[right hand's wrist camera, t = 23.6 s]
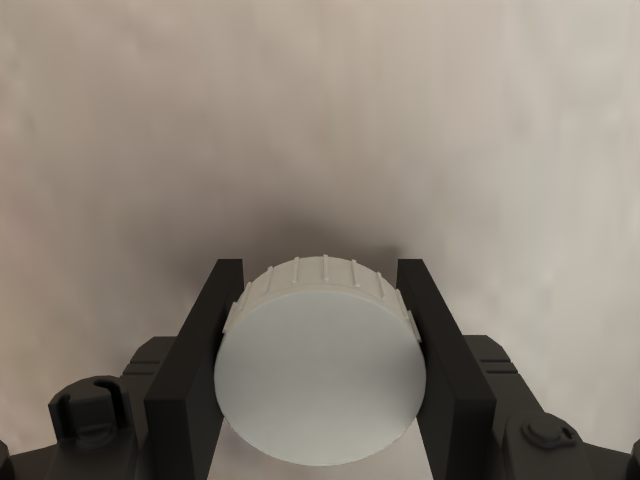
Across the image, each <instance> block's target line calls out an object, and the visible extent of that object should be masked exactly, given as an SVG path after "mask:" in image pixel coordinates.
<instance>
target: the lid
mask: <svg viewBox="0 0 640 480" xmlns="http://www.w3.org/2000/svg"><path fill="white" fill-rule="evenodd" d="M222 333H224V336H223V339H222V342H221V345H220V347H219V350H218V353H217V357H216V361H215V365H214V383H215V393H216V398H217V402H218V404H219V406H220V409H221V411H222V413H223V415H224V417H225V418H226V420H227V422H228V423H229V424H230V425H231V427H232V428H233V429H234V430H235V432H236V433H237V434H239V435H240V436H241V437H242V438H243V439H244V440H245V441H246V442H248V443H249V444H250V445H252V446H253V447H255V448H256V449H258V450H260V451H261V452H263V453H265V454H267V455H270V456H272V457H274V458H277V459H280V460H283V461H286V462H290V463H295V464H299V465H308V466H332V465H340V464H346V463H351V462H354V461H357V460H361V459H364V458H366V457H368V456H371V455H373V454H375V453H377V452H379V451H381V450H382V449H384V448H386V447H387V446H389V445H390V444H391V443H393V442H394V441H395V440H396V439H397V438H399V437H400V436H401V435H402V434H403V433H404V432H405V431H406V429H407V428H408V427H409V426H410V425H411V423H412V422H413V420H414V419H415V417H416V415H417V414H418V412H419V409H420V407H421V405H422V402H423V399H424V395H425V387H426V365H425V360H424V356H423V353H422V351H421V348H420V345H419V343H420V342H422V340H421V337H420V335H419V332H418V329H417V326H416V324H415V321H414V318H413V316H412V313H411V310H409V311H407V309H406V306H405V304H404V302H403V299H402V296H401V294H400V291H399V290H398V289H396V290H395V289H394V288H393V287H392V286H391V285H390V284H389V283H388V282H387V281H386V280H385V279H384V278H382V276H381V273H380V272H378V271H377V272H374V271H372V270H370V269H369V268H367V267H365V266H363V265H360V264H358V263H356V260H353V259H352V261H349V260H345V259H341V258H334V257H328V255H323V257H306V258H300V259H299V257H295V259H294V260H291V261H288V262H285V263H282V264H280V265H277V266H275V267H274V268H273V267H272V266H270V267H269V268H268V271H266V272H265V273H263V274H262V275H260V276H259V277H258V278H256V279H255V280H254V281H253V282H252V283H251V282H248V283H247V285H246V288H245V291H244V292H243V293H242V295H241V296H240V298H239V300H238V301H237V303H236V302H233V304H232V307H231V309H230V312H229V315H228V317H227V320H226V323H225V326H224V328H223V331H222Z"/></svg>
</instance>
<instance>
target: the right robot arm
mask: <svg viewBox="0 0 640 480" xmlns="http://www.w3.org/2000/svg"><path fill="white" fill-rule="evenodd" d="M396 289H398V290H399V291H400V294H401V296H402V299H403V302H404V304H405V306H406V309H407V311H409V310H411V313H412V316H413V318H414V321H415V324H416V326H417V329H418V332H419V335H420V337H421V340H422V342H420V343H419V345H420V348H421V351H422V353H423V356H424V360H425V365H426V387H425V395H424V399H423V402H422V405H421V407H420V409H419V412H418V414H417V415H416V418H417V421H418V425H419V429H420V432H421V436H422V440H423V443H424V447H425V450H426V454H427V458H428V461H429V465H430V469H431V472H432V476H433V480H640V439H639V440H638V441H637V442H636V443H635V444H634V445H633V449H632V452H631V454H628V453H623V452H619V451H615V450H611V449H606V448H602V447H598V446H594V445H591V444H588V443H585V442H583V441H582V439H581V438H580V436H579V435H578V433H577V431H576V430H575V429H573V428H572V427H571V426H570V425H569V424H568V423H566V422H565V421H563V420H562V419H560V418H558V417H556V416H554V415H552V414H549V413H545V412H544V410H543V409H542V407H541V406H540V404H539V403H538V401H537V400H536V398H535V397H534V395H533V394H532V392H531V390H530V389H529V387H528V386H527V384H526V383H525V381H524V380H523V378H522V377H521V375H520V374H518V371H517V369H516V367H515V366H514V364H513V363H511V360H510V358H509V357H508V355H507V354H506V352H505V351H504V349H503V348H502V346H500V345H499V344H498V343H496V342H495V341H494V340H492V339H491V338H490V337H488V336H487V335H462V333H461V331H460V330H459V328H458V326H457V324H456V322H455V320H454V318H453V316H452V315H451V313H450V311H449V309H448V307H447V305H446V303H445V301H444V300H443V298H442V296H441V294H440V292H439V290H438V288H437V286H436V284H435V283H434V281H433V279H432V277H431V275H430V273H429V271H428V269H427V268H426V266H425V264H424V262H423V260H422V259H398V268H397V283H396ZM243 292H244V279H243V264H242V259H218V261H217V263H216V264H215V266H214V268H213V270H212V272H211V274H210V276H209V278H208V279H207V281H206V283H205V285H204V287H203V289H202V291H201V293H200V294H199V296H198V298H197V300H196V302H195V304H194V306H193V308H192V309H191V311H190V313H189V315H188V317H187V319H186V321H185V323H184V324H183V326H182V328H181V330H180V332H179V334H178V336H177V337H153V338H151V339H150V340H149V341H147V342H146V343H145V344H143V345H142V346H141V347H139V348H138V350H137V351H136V353H135V354H134V356H133V358H132V359H131V361H130V364H128V365H127V367H126V368H125V370H124V371H123V375H121V376H120V378H117V377H114V376H94V377H90V378H86V379H82V380H79V381H77V382H75V383H73V384H71V385H69V386H67V387H65V388H64V389H63V390H61V391H60V392H59V393H57V394H56V395H55V396H54V397H53V399H52V400H51V401H50V403H49V404H48V407H49V411H50V415H51V419H52V423H53V426H54V430H55V434H56V438H57V444H55V445H52V446H49V447H46V448H42V449H38V450H33V451H29V452H25V453H21V454H16V455H12V456H10V454H9V451H8V447H7V445H5V444H4V443H3V442H2V441H1V440H0V480H207V477H208V473H209V470H210V466H211V462H212V459H213V455H214V451H215V448H216V444H217V441H218V437H219V433H220V430H221V426H222V422H223V419H224V415H223V413H222V411H221V409H220V406H219V404H218V402H217V398H216V393H215V383H214V365H215V361H216V357H217V353H218V350H219V347H220V345H221V342H222V339H223V336H224V333H222V331H223V328H224V326H225V323H226V320H227V317H228V315H229V312H230V309H231V307H232V304H233V302H236V303H237V301H238V300H239V298H240V296H241V295H242V293H243Z"/></svg>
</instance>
